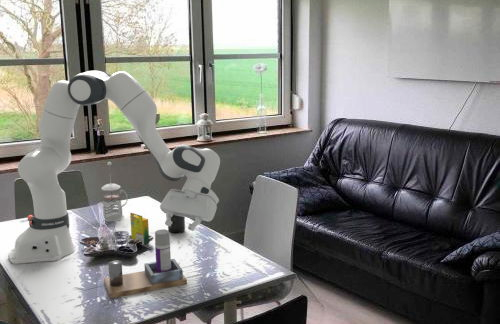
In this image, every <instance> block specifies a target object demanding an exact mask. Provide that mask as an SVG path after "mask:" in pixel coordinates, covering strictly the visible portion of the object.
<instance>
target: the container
mask: <svg viewBox="0 0 500 324" xmlns="http://www.w3.org/2000/svg"><path fill="white" fill-rule="evenodd" d="M154 239H155V240H154V247H155V248H154V249H155V262H156V271H157V273H161V272H167V271H171V259H172V258H171V257H172V256H171V241H170V239H171V238H170V233H169V231H168V229H157V230H156V231H154Z"/></svg>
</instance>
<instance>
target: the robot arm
mask: <svg viewBox="0 0 500 324" xmlns="http://www.w3.org/2000/svg"><path fill="white" fill-rule="evenodd" d="M105 100H109V101H111V102H112V103H113V104H114V105H115V106H116V107H117V109H119V111H120V112H121V113H122V114H123V116H124V117H125V118H126V119H127V121H128V122H129V124H131V126H132V128H133V129H134V131H135V133H136V134H137V136H138V137H139V139H140V141H141V142H142V143H143V145H144V146H145V148H146V149H147V150H148V152H149V153H150V155H151V156H152V158H153V159H154V160H155V162H156V165H157V167H158V171H159V173H160V174H161V176H162V177H163V178H164V179H166V180H168V181H171V182H178V181H180V180H181V179H183V178H184V177H186V180H185V182H184V184H183V186H182V188H181V189H179V188H172V189H170V190H169V191H168V192H167V194H166V195H165V197H164V198H163V199H162V201H161V203H160V205H159V208H160V210H161V211H162V212H163V214H165V215H166V217H165V218H166V219H165V222H164V225H166V226H167V227H168V226H171V224H172V221H171V217H172V216H173V215H177V216H182V217H185V218H189V219H193V220H194V221H193V222H192V223H189V225H188V226H187V229H188V230H189V231H192V232H193V231H195V229H196V227H198V226H199V225H200V224H201V223H202V222H203V221H204V222H211V221H212V220H213V219H214V217H215V215H216V211H217V209H218V206H217V204H218V203H219V202H220V199H219V197H218V196H217V194H216V193H215V192H214V190H213V189H211V187H212V183H214V181H215V179H216V176H217V175H218V171H219V170H220V169H219V168H220V165H221V158H220V156H219V155H218V153H217V152H216V151H214V150H212V149H211V148H196V147H193V146H191V145H189V144H183V143H182V144H179V145H178V146H176V147H174V148H173V149H172V150H171V149H170V148H169V147H168V145H167V144H166V141H164V139H163V138H162V137H161V135H160V133H158V130H157V127H156V122H157V121H156V120H157V119H156V117H157V113H158V107H157V104H156V102H155V101H154V99H153V97H152V96H151V95H150V93H148V91H147V90H146V89H145V87H144V86H143V85H142V84H141V83H140V82H139V81H138V80H137V79H136V78H134V77H133V76H132V75H131V74H129V73H128V72H127V71H123V70H122V71H121V70H120V71H117V72H115V73H113V74H110V73H108V72H107V71H105V70H100V69H96V70H87V71H84V72H81V73H78V74H75V75H74V76H73V77H71V78H70V80H69V81H68V80H58V81H55V83H53V85H52V87H51V89H49V93H48V95H47V97H46V100H45V103H44V106H43V108H42V114H41V117H40V120H39V124H38V132H39V134H40V144H39V146H38V148H37V149H35V150H33V151H31V152H28V153H27V154H25V155H24V156H23V158H21V160H20V161H19V163H18V164H17V165H18V166H17V172H18V175H19V177H20V178H21V179H22V181H24V182H26V184H27V186H28V189H29V190H30V191H29V192H30V193H31V196H32V197H31V198H32V203H33V213H34V215H32V214H29V215H28V216H27V221H28V226H29V227H28V228H26V229H25V230H24V231H23V232H21V234H19V235H18V236H17V238H16V239H15V242H14V248H12V249H11V250H10V251H9V252H8V260H9V261H10V263H12V264H17V265H18V264H28V263H39V262H51V261H58V260H60V259H62V258H63V257H64V256H67V255H69V254H72V252H74V250H75V245H74V243H73V240H72V236H71V232H70V215H69V213H68V209H67V199H66V192H65V191H64V189H62V187H61V186H60V184H59V180H58V175H59V174H61V173H62V172H64V171H65V170H66V169H67V168H68V167H69V165H70V164H71V162H72V153H71V138H72V134H73V131H74V127H75V123H76V119H77V115H78V113H79V110H80V107H81V106H91V105H96V104H98V103H101V102H102V101H105Z"/></svg>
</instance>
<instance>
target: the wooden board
mask: <svg viewBox="0 0 500 324" xmlns="http://www.w3.org/2000/svg"><path fill="white" fill-rule="evenodd" d="M143 264H144V266H143V267H144V270H142V271H135V272H130V273H124V274H123V284H122V285H121V286H118V287H113V286H110V279H109V276H107V277H106V276H105V277H103V283H104V285H105V288H106V292H107V294H108V297H109V299H114V298H115V299H116V298H119V297H123V296H124V297H125V296H130V295H136V294H140V293H146V292H151V291H152V292H153V291H158V290H162V289H163V290H164V289H167V288H171V287H177V286H183V285H188V282H187V281H188V279H187V278H186V277H185V275H184V273H183V272H184V271H183V268H182V267H181V266H180V265H179V263H178V262H177V260H176V258H171V271H167V272H161V273H157V271H156V261H152V262H147V263H143Z"/></svg>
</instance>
